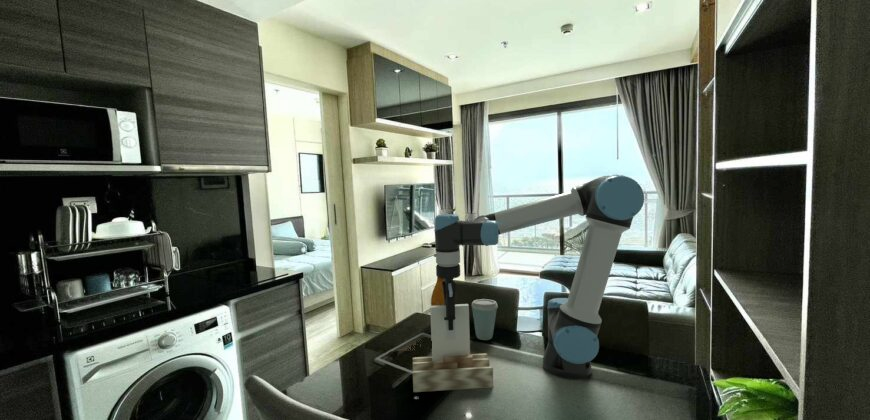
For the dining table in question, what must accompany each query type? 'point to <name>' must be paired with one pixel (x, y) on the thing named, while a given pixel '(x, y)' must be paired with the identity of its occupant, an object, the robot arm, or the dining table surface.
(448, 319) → the robot arm
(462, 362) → the offcut near sheet
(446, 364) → the offcut front
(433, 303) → the wine bottle
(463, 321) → the tall sheet
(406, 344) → the picture frame
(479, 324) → the disposable coffee cup
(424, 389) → the rack
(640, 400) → the dining table surface
